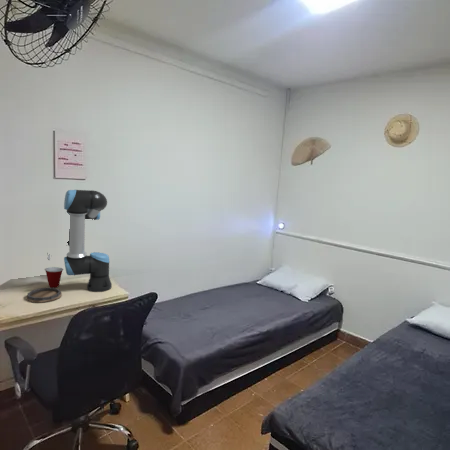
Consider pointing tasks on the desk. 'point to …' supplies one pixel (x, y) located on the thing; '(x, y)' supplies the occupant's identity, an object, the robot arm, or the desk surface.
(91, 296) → the desk surface
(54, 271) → the plastic cup
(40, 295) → the cup holder
